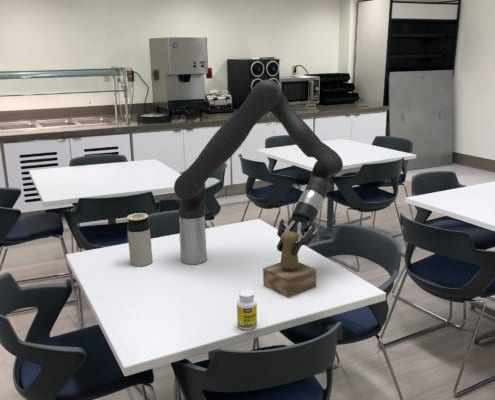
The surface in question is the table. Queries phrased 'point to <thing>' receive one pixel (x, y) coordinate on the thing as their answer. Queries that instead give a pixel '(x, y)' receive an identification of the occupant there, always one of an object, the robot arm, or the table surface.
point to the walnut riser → (289, 279)
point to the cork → (288, 250)
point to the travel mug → (139, 239)
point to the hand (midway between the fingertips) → (285, 252)
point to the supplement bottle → (246, 310)
